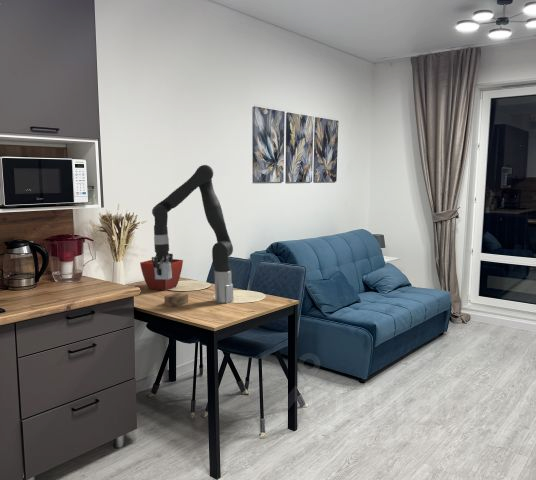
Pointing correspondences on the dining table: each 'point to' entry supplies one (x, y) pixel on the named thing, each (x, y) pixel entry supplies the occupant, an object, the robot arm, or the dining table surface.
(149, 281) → the plant pot
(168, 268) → the medicine box
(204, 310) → the dining table surface
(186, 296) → the walnut block
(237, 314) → the dining table surface
